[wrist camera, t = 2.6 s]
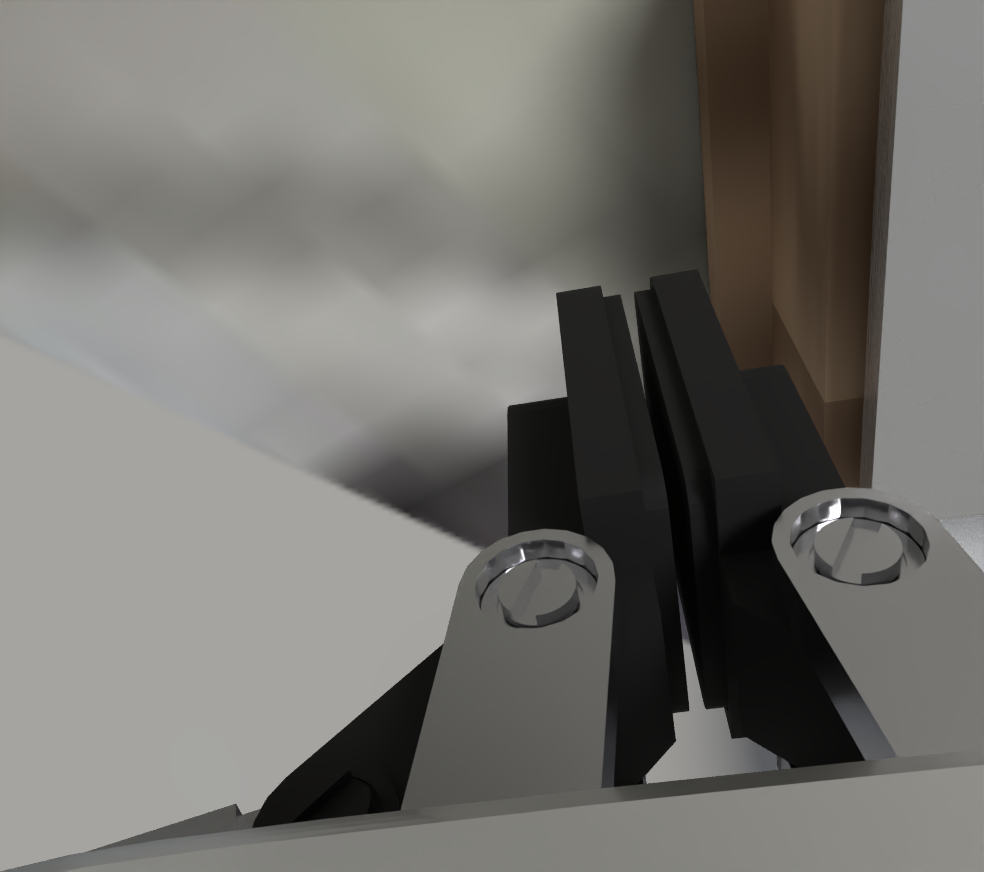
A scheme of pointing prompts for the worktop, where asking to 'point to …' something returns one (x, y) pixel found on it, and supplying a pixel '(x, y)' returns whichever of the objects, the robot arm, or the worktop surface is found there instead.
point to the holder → (793, 193)
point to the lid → (928, 262)
